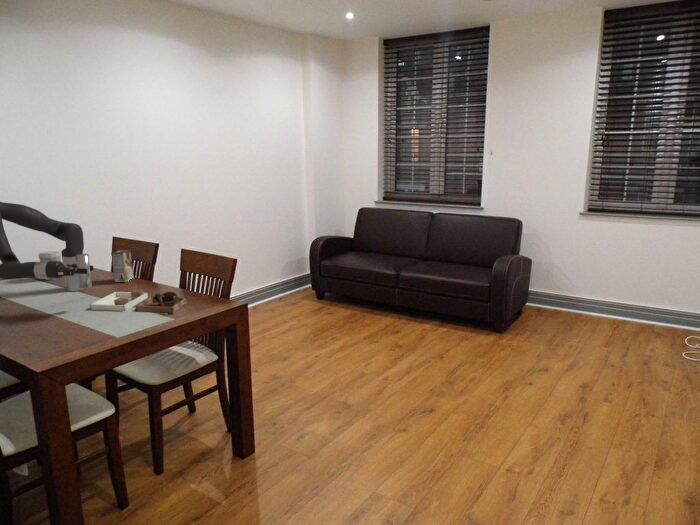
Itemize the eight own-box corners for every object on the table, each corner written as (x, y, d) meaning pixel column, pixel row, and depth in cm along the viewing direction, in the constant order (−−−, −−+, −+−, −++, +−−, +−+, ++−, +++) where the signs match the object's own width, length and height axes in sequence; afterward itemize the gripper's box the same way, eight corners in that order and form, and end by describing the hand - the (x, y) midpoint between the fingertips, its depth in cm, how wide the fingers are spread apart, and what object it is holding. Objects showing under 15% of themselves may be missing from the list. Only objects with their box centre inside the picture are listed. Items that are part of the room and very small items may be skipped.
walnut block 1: (122, 306, 224) (121, 297, 223) (129, 307, 223) (128, 298, 222) (115, 308, 221) (114, 300, 220) (122, 309, 219) (121, 301, 218)
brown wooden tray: (152, 302, 233) (152, 296, 232) (187, 303, 231) (187, 297, 230) (136, 312, 218) (135, 306, 218) (173, 314, 217) (172, 307, 216)
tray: (115, 297, 239) (115, 291, 239) (148, 299, 238) (147, 292, 237) (90, 311, 220) (89, 304, 219) (125, 312, 218) (124, 305, 218)
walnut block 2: (134, 298, 236) (133, 289, 235) (143, 298, 236) (142, 289, 236) (131, 300, 232) (130, 292, 231) (140, 300, 233) (139, 292, 232)
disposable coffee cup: (47, 276, 278) (43, 249, 274) (67, 276, 279) (64, 249, 275) (37, 281, 267) (33, 253, 264) (59, 281, 268) (55, 253, 265)
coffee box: (122, 278, 274) (119, 249, 271) (133, 278, 274) (131, 249, 271) (114, 283, 265) (111, 253, 262) (126, 283, 265) (123, 253, 262)
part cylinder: (83, 284, 221) (80, 253, 218) (94, 285, 220) (91, 253, 217) (76, 287, 216) (72, 255, 213) (87, 288, 216) (83, 256, 213)
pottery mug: (184, 304, 231) (183, 292, 225) (173, 319, 224) (172, 307, 218) (159, 297, 232) (158, 284, 226) (148, 311, 225) (146, 299, 219)
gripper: (38, 265, 208) (81, 264, 209) (56, 257, 222) (96, 257, 223) (41, 282, 210) (83, 282, 211) (58, 274, 224) (98, 274, 225)
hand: (89, 269), depth 217 cm, fingers closed on part cylinder, 5 cm apart
